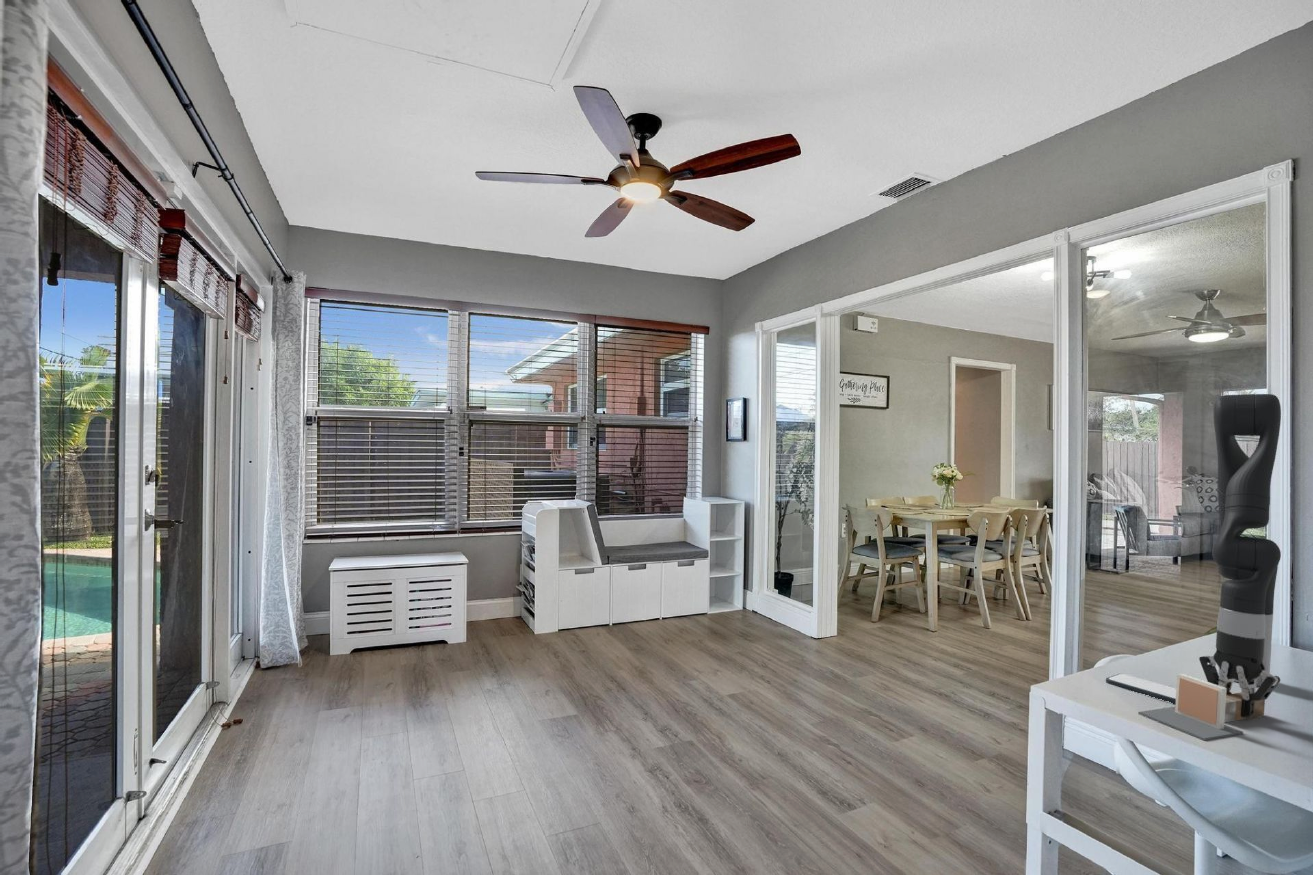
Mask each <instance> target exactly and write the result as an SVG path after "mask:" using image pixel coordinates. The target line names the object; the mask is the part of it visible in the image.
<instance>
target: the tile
mask: <svg viewBox="0 0 1313 875" xmlns="http://www.w3.org/2000/svg"><path fill="white" fill-rule="evenodd" d="M1175 688H1176V704H1174V705H1175V706H1174V707H1175V712H1176V713H1179V714H1181V715H1184V716H1186V717H1189V718H1192V719H1194V720H1197V721H1200V722H1202V723H1205V724H1207V725H1210V726H1213V727H1215V728H1218V729H1223V728H1224V725H1225V722H1224V721H1225V706H1226V691H1227V688H1225V687H1222V686H1219V685H1216V684H1212V683H1209V682H1208V681H1207V680H1202V679H1200V678H1197V677H1194V676H1190V675H1188V674H1185V673H1177V676H1176V687H1175Z"/></svg>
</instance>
